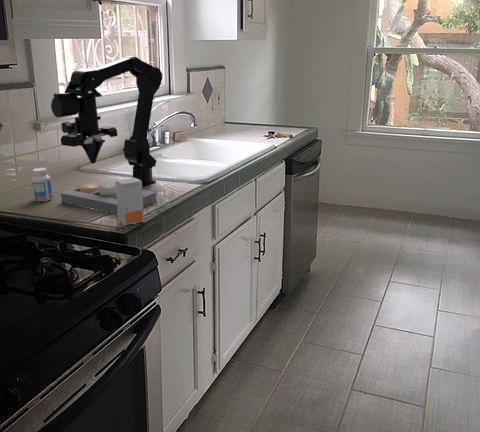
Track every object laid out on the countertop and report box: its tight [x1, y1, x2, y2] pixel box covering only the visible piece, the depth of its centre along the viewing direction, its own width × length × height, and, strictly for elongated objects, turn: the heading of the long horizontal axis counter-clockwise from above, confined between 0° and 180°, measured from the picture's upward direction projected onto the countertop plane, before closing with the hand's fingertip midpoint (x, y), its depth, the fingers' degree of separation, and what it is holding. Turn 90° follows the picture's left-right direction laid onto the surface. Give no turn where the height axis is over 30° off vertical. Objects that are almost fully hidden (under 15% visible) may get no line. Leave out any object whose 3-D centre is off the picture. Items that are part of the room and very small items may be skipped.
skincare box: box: [114, 177, 145, 226], centre depth 145 cm, size 6×4×12 cm
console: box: [60, 181, 157, 214], centre depth 164 cm, size 15×25×3 cm, turn 59°
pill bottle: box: [31, 167, 54, 202], centre depth 166 cm, size 6×5×10 cm
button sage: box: [98, 183, 116, 197], centre depth 163 cm, size 6×6×3 cm
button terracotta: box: [79, 183, 99, 194], centre depth 167 cm, size 6×6×3 cm
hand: (93, 163), depth 167 cm, fingers closed
